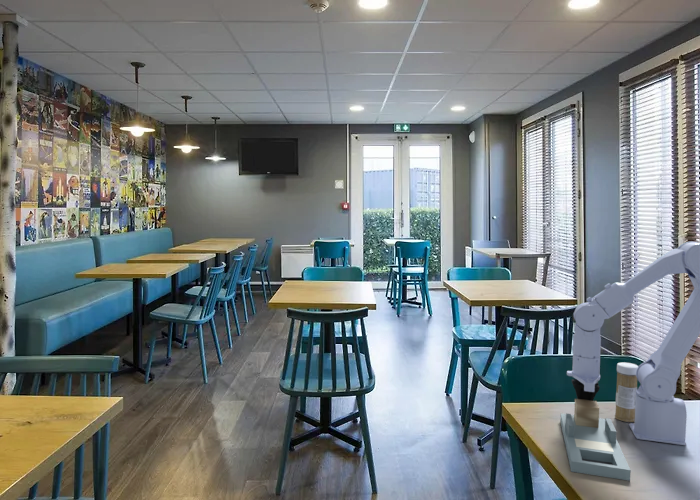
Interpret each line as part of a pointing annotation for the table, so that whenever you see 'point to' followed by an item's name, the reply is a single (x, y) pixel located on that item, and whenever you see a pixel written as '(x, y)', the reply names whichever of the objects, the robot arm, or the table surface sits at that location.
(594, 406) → the block
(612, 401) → the table surface
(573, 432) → the deck
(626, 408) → the sprinkles bottle
